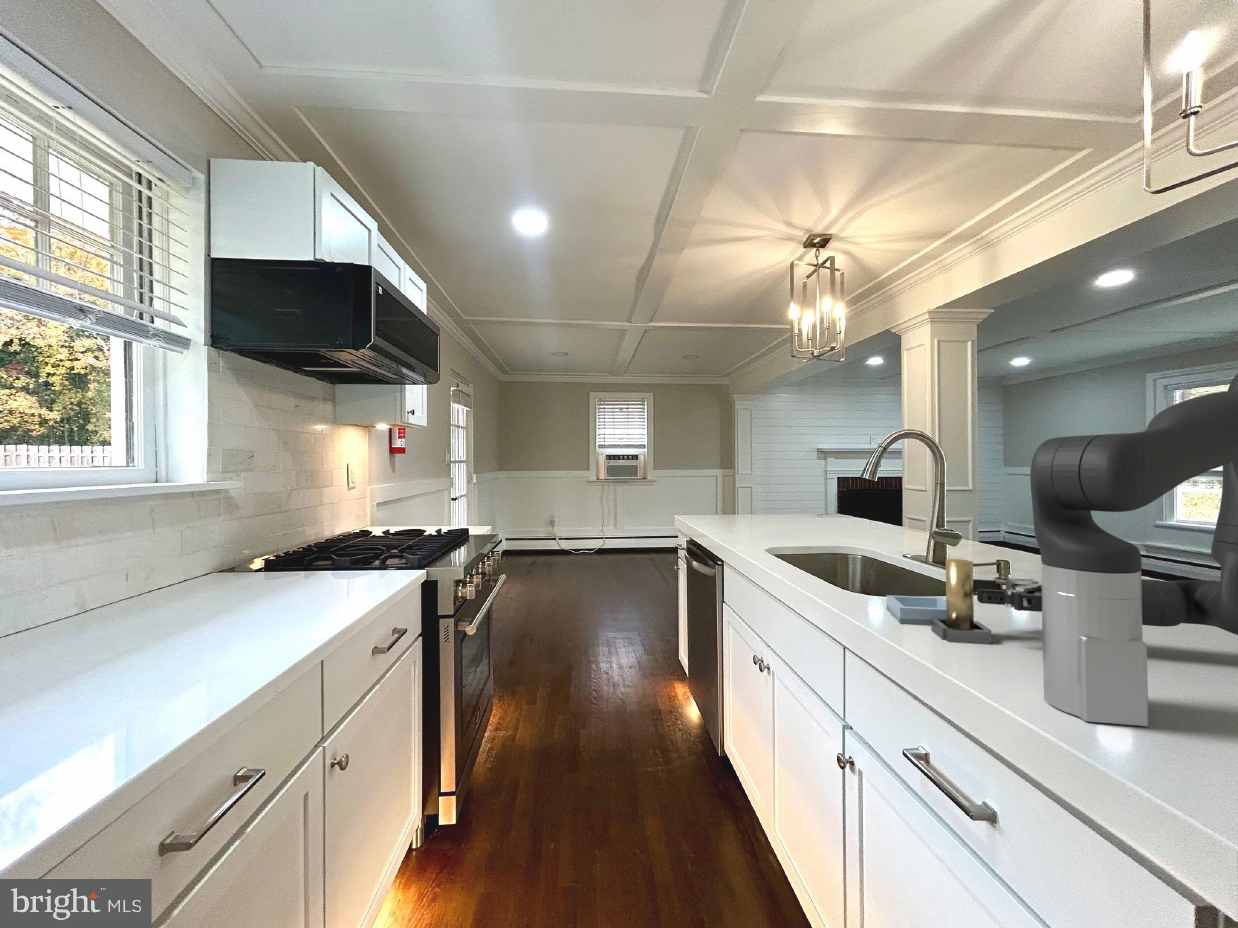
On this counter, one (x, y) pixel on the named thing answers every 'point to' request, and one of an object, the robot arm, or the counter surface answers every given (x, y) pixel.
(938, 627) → the grey square holder
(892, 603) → the tray
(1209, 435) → the robot arm
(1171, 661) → the counter surface
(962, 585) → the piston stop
